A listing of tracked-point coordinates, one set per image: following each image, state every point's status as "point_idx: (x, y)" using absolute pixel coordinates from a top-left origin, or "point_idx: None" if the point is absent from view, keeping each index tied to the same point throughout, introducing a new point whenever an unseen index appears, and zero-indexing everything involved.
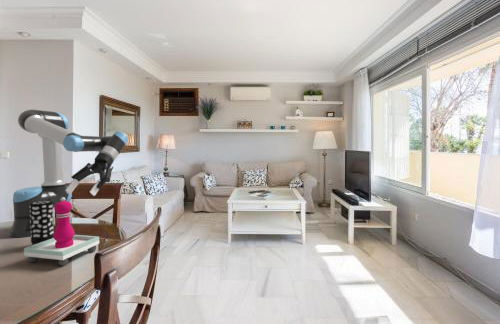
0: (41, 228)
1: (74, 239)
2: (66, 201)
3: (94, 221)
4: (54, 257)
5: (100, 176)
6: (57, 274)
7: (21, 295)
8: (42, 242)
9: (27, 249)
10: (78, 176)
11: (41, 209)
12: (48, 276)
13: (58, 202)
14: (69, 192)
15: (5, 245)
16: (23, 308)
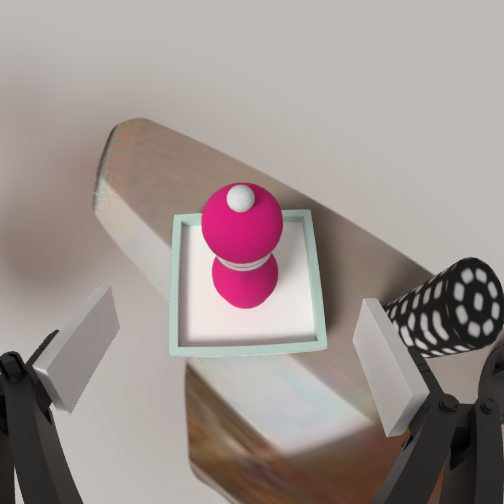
0: (396, 303)
1: (266, 340)
2: (223, 212)
3: None
4: None
5: (26, 415)
6: (169, 209)
7: (168, 146)
8: (311, 258)
9: (296, 210)
10: (418, 434)
11: (434, 284)
12: (181, 198)
13: (251, 188)
14: (356, 328)
15: None
16: (136, 132)
